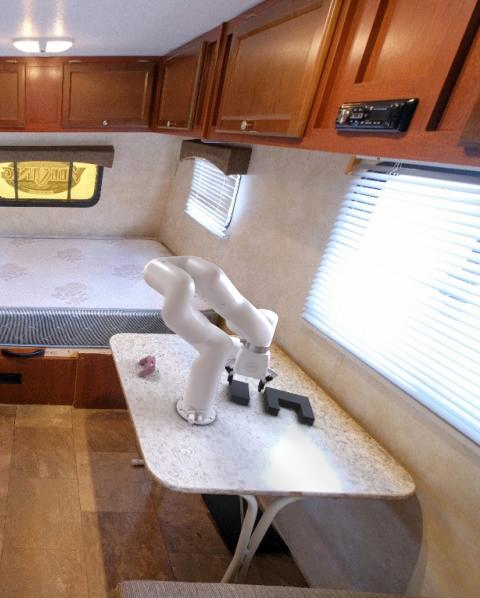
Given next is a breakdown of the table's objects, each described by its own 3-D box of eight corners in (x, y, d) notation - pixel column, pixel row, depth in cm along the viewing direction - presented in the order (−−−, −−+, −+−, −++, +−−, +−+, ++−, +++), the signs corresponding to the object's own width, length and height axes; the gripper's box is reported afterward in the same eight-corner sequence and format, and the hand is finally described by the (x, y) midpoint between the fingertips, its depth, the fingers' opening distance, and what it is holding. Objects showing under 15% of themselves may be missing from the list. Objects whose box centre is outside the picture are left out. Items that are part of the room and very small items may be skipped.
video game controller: (147, 381, 138) (158, 369, 135) (137, 375, 137) (148, 363, 134) (147, 366, 147) (157, 355, 144) (138, 361, 146) (148, 349, 143)
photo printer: (246, 368, 148) (254, 343, 143) (242, 373, 145) (250, 346, 140) (221, 358, 154) (229, 332, 149) (217, 361, 151) (224, 336, 146)
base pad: (312, 425, 120) (315, 418, 118) (266, 413, 124) (268, 406, 123) (305, 403, 130) (308, 397, 129) (263, 392, 134) (265, 386, 133)
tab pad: (247, 406, 126) (249, 399, 125) (229, 401, 128) (231, 394, 127) (246, 389, 135) (248, 383, 134) (229, 385, 137) (231, 378, 136)
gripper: (228, 344, 119) (218, 386, 126) (286, 357, 114) (272, 400, 121) (228, 334, 125) (218, 374, 133) (283, 345, 120) (270, 386, 127)
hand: (244, 386), depth 127 cm, fingers open, 9 cm apart
